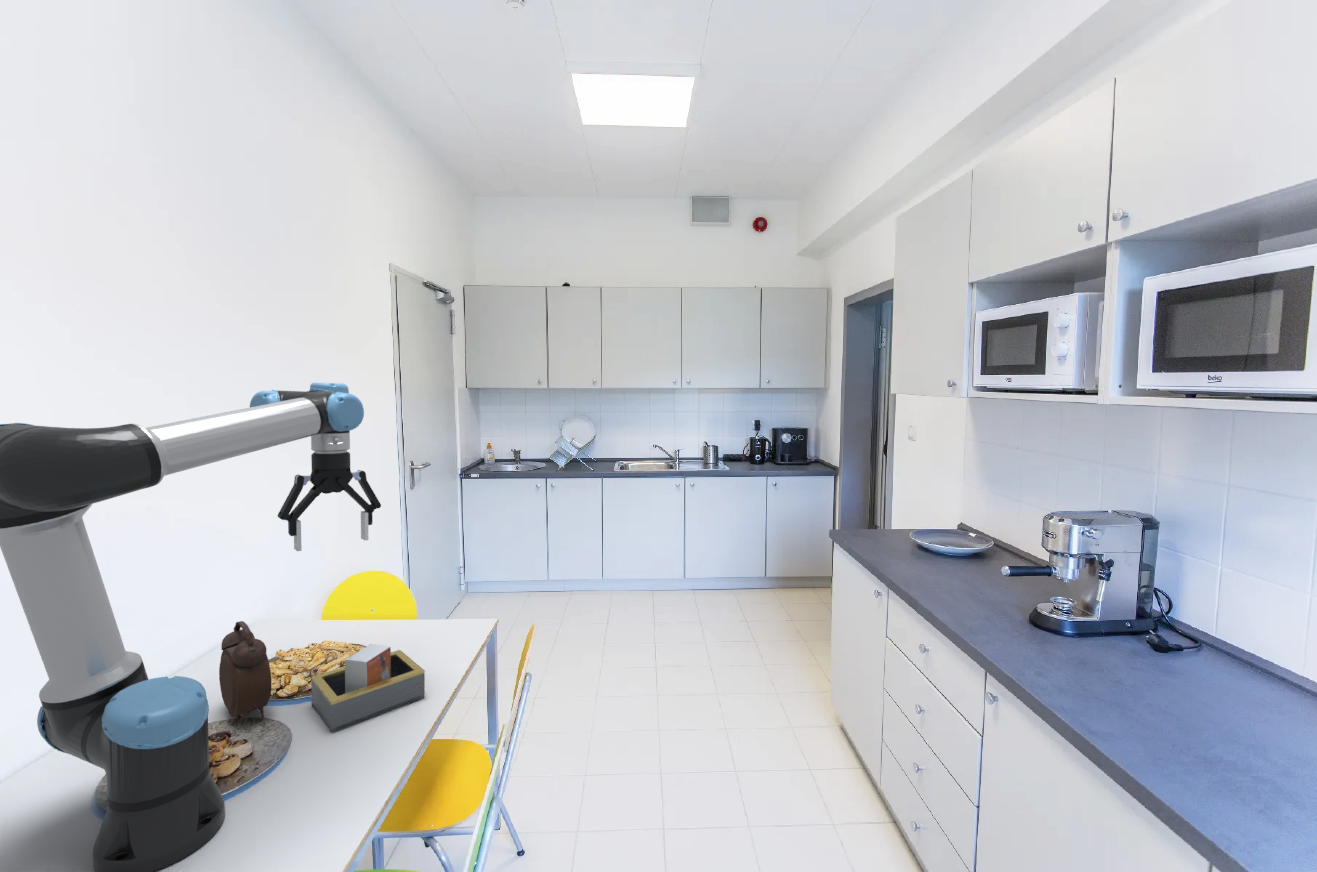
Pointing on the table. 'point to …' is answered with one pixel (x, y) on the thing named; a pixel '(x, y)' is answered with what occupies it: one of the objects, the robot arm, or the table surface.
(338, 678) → the box
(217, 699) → the table surface
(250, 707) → the alarm clock
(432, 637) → the table surface
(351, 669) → the small box
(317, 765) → the table surface
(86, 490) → the robot arm
